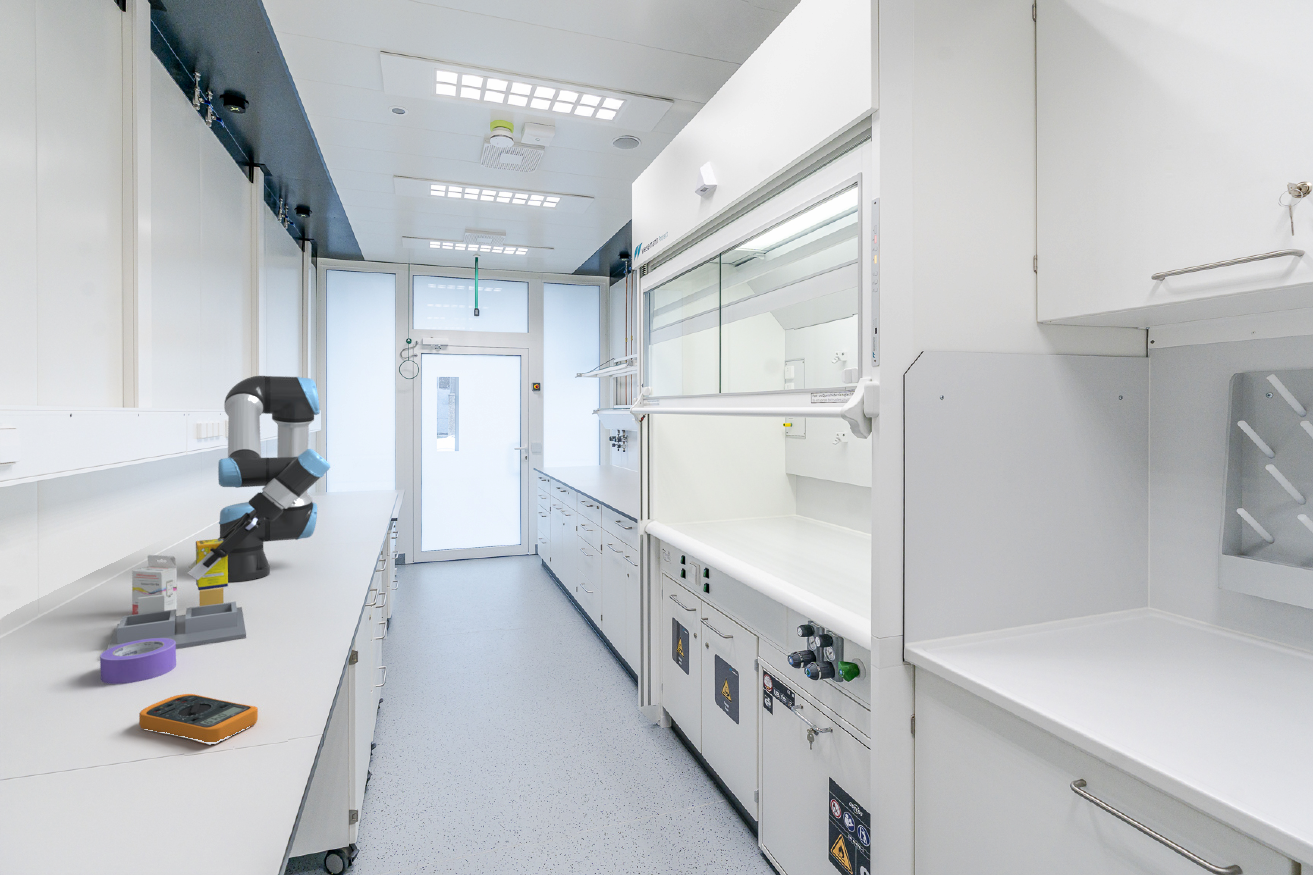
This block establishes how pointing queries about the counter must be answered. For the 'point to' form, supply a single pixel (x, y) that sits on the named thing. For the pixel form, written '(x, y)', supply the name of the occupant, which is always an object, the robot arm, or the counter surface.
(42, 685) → the counter surface
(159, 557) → the ink cartridge box
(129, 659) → the tape roll
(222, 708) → the multimeter
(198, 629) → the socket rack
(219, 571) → the supplement box
